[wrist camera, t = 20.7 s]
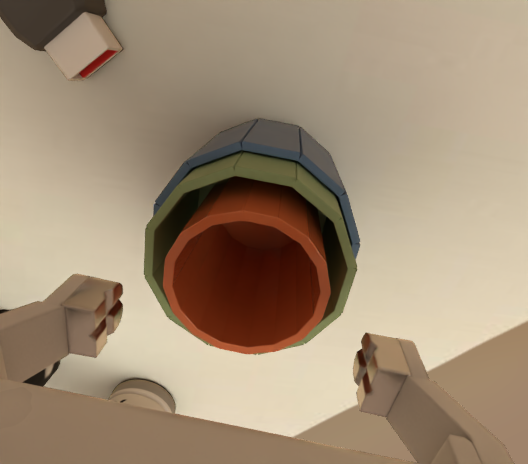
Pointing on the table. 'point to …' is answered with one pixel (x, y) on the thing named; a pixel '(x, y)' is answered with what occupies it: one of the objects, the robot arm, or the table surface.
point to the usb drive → (64, 32)
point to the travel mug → (143, 395)
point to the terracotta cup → (249, 268)
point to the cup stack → (268, 170)
